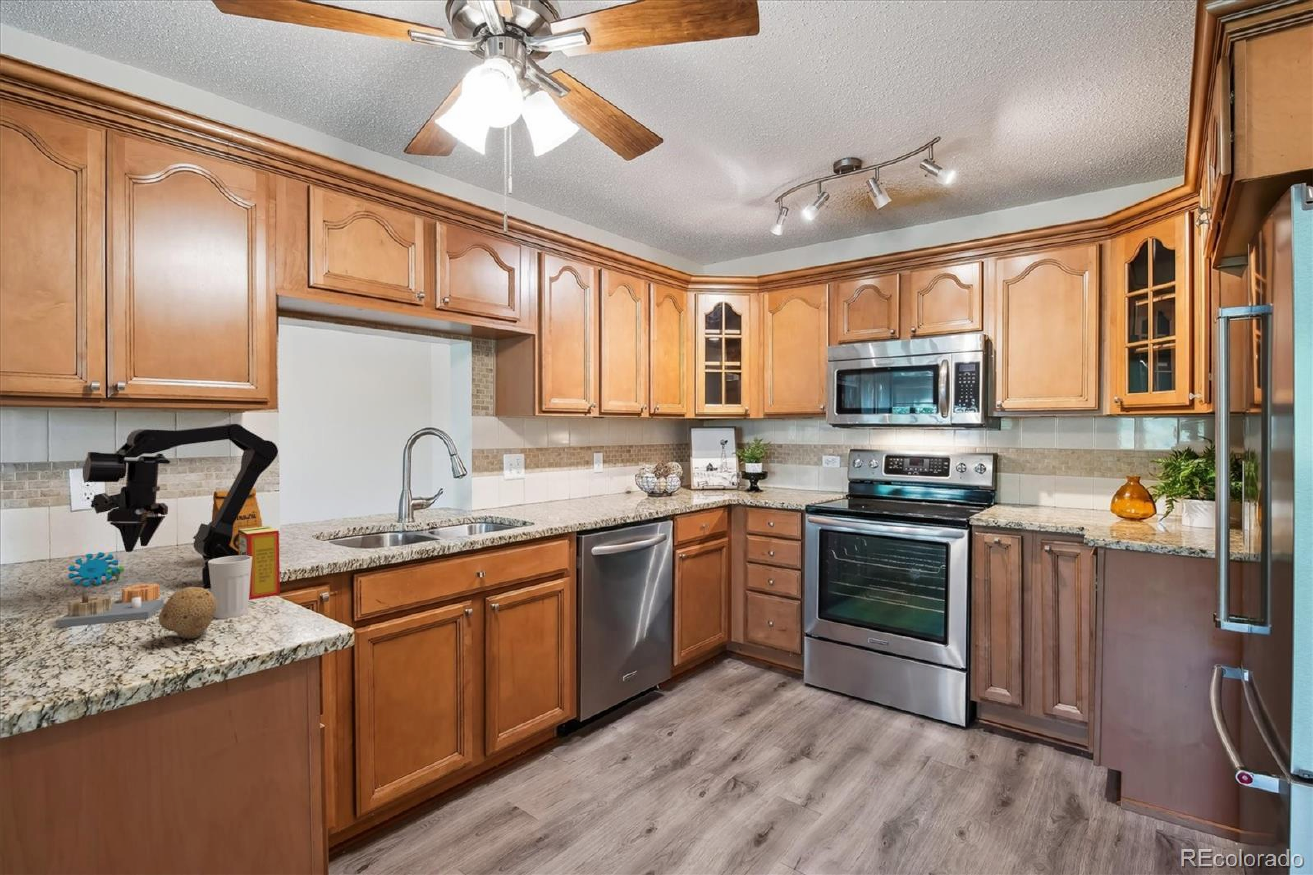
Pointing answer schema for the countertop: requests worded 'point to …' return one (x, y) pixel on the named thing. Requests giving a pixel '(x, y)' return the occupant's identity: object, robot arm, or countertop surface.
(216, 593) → the cup
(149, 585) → the orange gear
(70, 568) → the gear
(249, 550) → the baking soda box
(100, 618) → the gear board
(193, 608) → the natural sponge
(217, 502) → the coffee package
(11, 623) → the countertop surface
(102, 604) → the birch gear
